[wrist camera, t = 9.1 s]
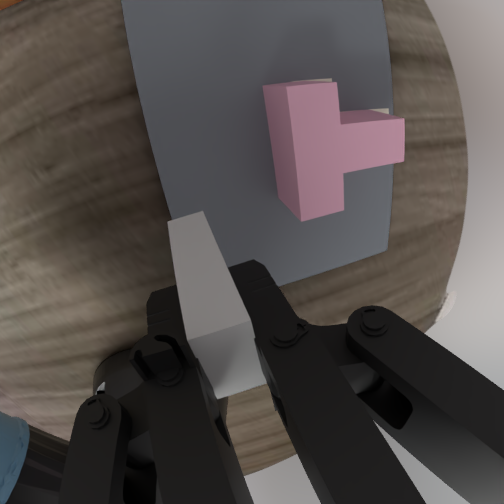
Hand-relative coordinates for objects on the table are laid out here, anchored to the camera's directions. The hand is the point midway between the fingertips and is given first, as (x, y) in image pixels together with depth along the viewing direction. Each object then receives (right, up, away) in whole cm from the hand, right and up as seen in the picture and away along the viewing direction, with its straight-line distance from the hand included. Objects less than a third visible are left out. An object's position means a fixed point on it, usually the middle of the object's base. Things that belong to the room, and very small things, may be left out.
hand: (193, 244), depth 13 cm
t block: (+7, +8, +7) cm, 12 cm away
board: (+5, +8, +8) cm, 12 cm away
